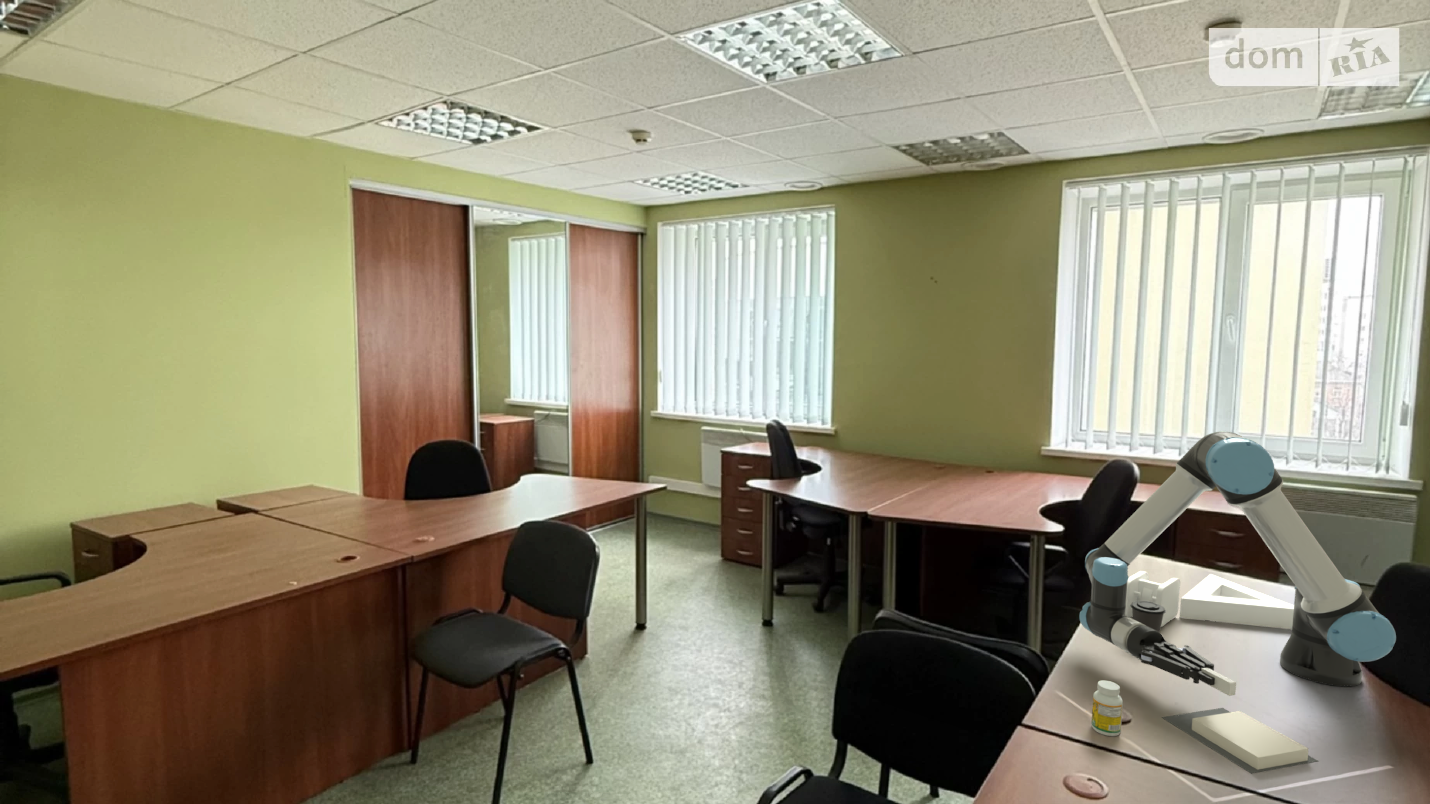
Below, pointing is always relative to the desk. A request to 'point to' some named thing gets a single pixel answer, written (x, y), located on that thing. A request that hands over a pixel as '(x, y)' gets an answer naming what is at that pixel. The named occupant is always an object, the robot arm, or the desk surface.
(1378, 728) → the desk surface
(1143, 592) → the cable organizer
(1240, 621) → the triangle block
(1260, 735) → the tile
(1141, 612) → the coffee cup
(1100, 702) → the supplement bottle
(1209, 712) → the mat
